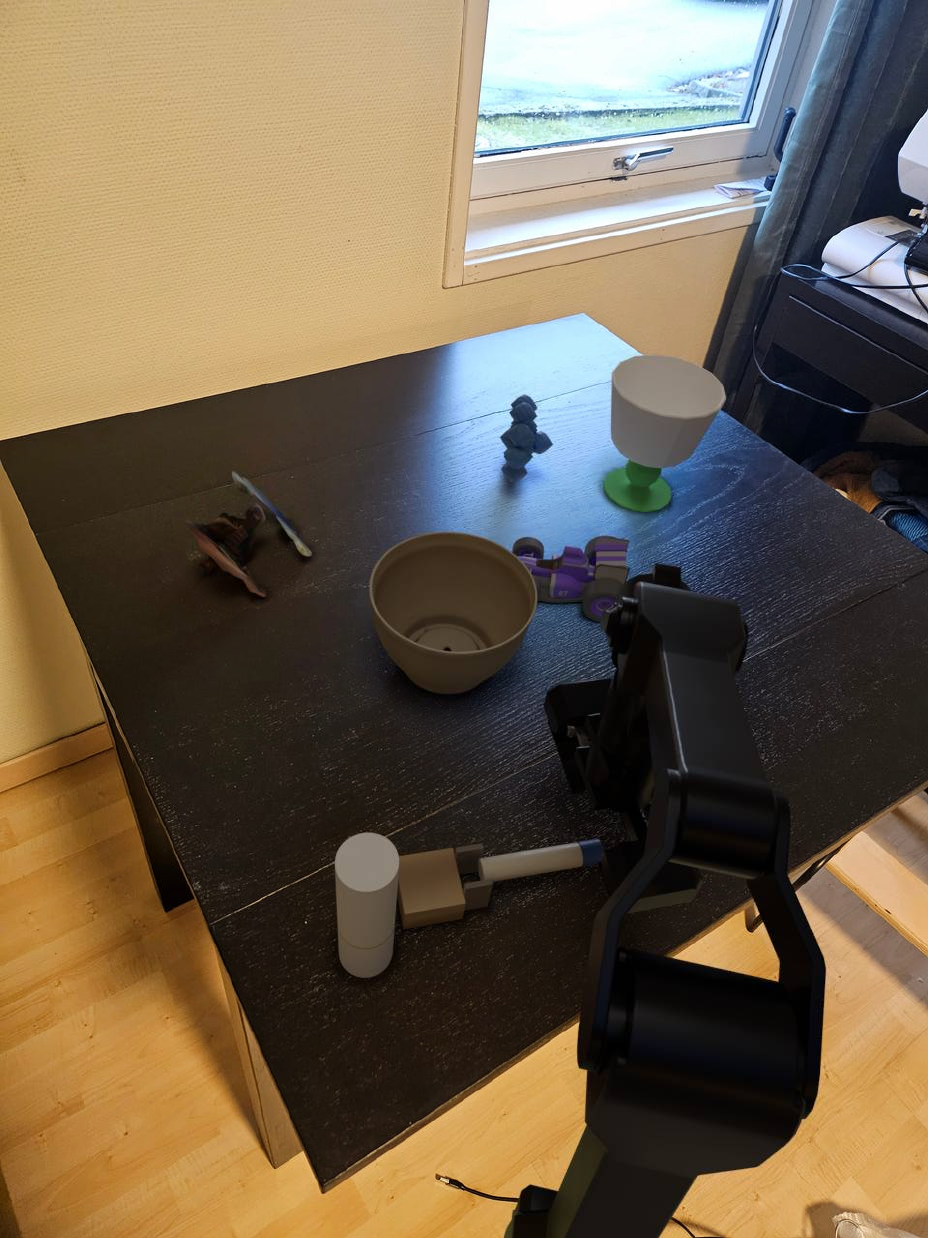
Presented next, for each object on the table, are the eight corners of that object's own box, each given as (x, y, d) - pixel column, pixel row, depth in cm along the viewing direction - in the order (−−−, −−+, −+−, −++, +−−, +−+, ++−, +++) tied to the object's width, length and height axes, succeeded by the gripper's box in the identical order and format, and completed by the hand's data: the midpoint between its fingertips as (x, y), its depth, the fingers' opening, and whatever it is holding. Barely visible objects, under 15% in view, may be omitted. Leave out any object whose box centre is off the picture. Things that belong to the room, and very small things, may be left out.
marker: (601, 868, 73) (606, 856, 71) (482, 888, 71) (484, 877, 69) (593, 845, 74) (598, 833, 73) (476, 865, 72) (479, 853, 70)
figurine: (311, 556, 105) (231, 486, 102) (343, 519, 98) (258, 444, 96) (241, 633, 94) (150, 556, 92) (272, 597, 88) (175, 514, 86)
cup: (672, 458, 118) (706, 354, 106) (702, 524, 109) (743, 418, 97) (575, 458, 116) (599, 352, 104) (598, 525, 107) (627, 417, 95)
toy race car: (496, 549, 102) (502, 507, 97) (621, 568, 102) (633, 526, 97) (488, 606, 95) (494, 564, 91) (621, 626, 95) (635, 585, 90)
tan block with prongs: (489, 914, 71) (495, 891, 68) (403, 930, 70) (405, 907, 67) (475, 859, 74) (481, 835, 71) (393, 873, 73) (394, 849, 70)
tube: (368, 989, 66) (369, 904, 55) (327, 954, 68) (321, 865, 57) (403, 946, 69) (412, 857, 58) (363, 914, 70) (364, 821, 59)
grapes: (543, 510, 108) (559, 430, 99) (490, 503, 108) (502, 422, 99) (547, 456, 116) (562, 377, 107) (497, 449, 116) (509, 370, 107)
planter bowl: (339, 685, 86) (337, 611, 78) (411, 586, 96) (416, 512, 89) (485, 748, 83) (498, 677, 75) (543, 637, 93) (561, 565, 85)
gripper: (806, 830, 55) (730, 931, 66) (692, 619, 67) (644, 735, 79) (646, 858, 53) (595, 957, 64) (558, 634, 65) (528, 751, 76)
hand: (594, 839), depth 71 cm, fingers open, 9 cm apart
